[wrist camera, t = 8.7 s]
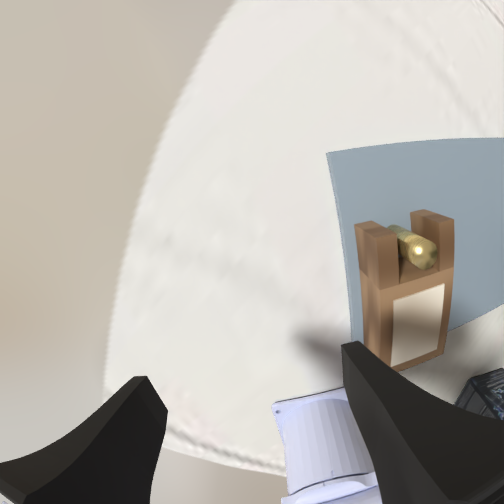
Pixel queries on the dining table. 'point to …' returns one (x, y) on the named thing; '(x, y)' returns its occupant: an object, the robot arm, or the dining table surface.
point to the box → (484, 395)
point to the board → (433, 199)
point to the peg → (414, 247)
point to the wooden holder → (405, 291)
